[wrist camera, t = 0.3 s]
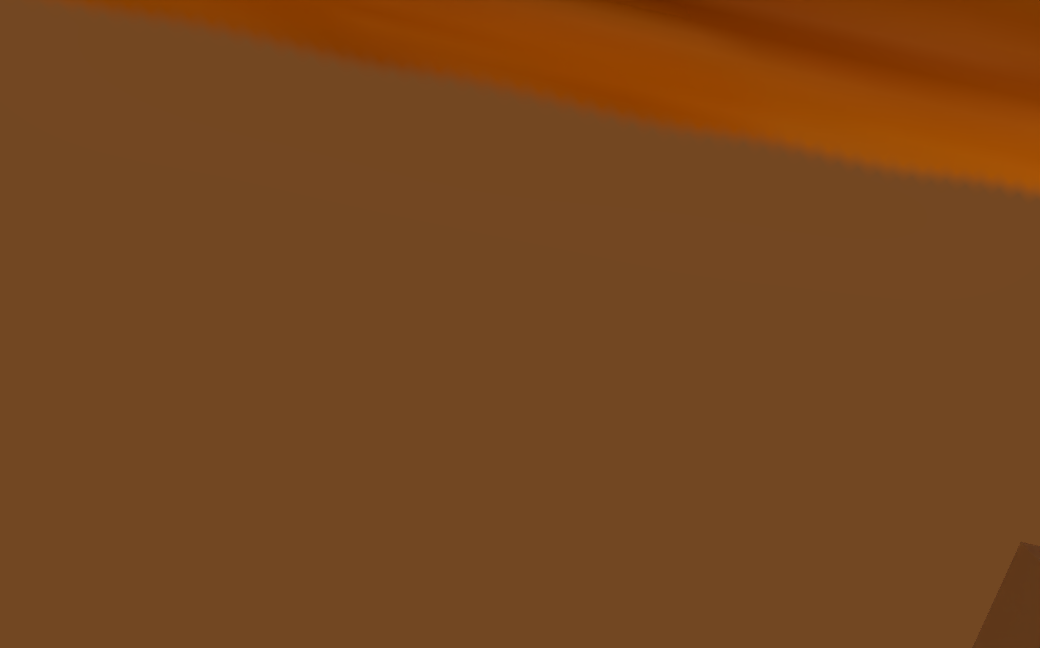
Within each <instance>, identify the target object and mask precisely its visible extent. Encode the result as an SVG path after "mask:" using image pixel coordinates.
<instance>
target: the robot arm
mask: <svg viewBox="0 0 1040 648" xmlns="http://www.w3.org/2000/svg"><path fill="white" fill-rule="evenodd" d="M973 648H1040V546H1037V545H1032V544H1027V543H1023V542H1021V543H1020V545H1019V547H1018V549H1017V552H1016V554H1015V556H1014V558H1013V561H1012V563H1011V565H1010V567H1009V569H1008V571H1007V573H1006V576H1005V578H1004V580H1003V582H1002V584H1001V587H1000V589H999V591H998V593H997V595H996V598H995V600H994V602H993V604H992V606H991V608H990V611H989V613H988V615H987V617H986V619H985V621H984V624H983V626H982V628H981V630H980V632H979V635H978V637H977V639H976V641H975V643H974V645H973Z"/></svg>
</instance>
